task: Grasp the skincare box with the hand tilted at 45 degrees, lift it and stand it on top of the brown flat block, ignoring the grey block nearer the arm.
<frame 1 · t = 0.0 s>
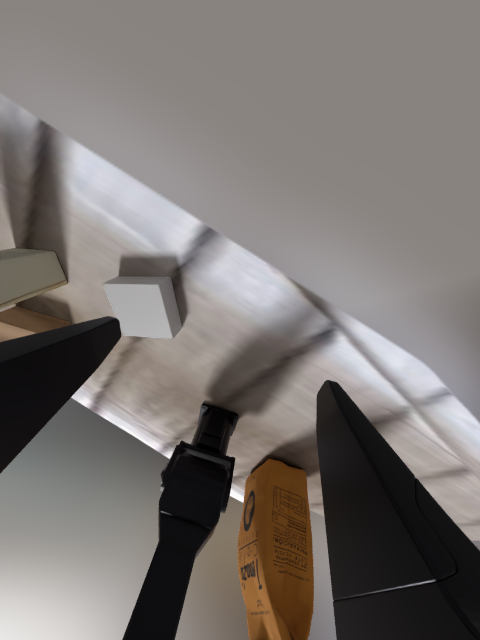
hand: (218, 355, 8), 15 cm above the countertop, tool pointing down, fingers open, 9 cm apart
brown flat block: (53, 335, 34), on the countertop
coffee package: (274, 470, 42), on the countertop
grey block: (153, 301, 26), on the countertop
skincare box: (44, 265, 26), on the countertop
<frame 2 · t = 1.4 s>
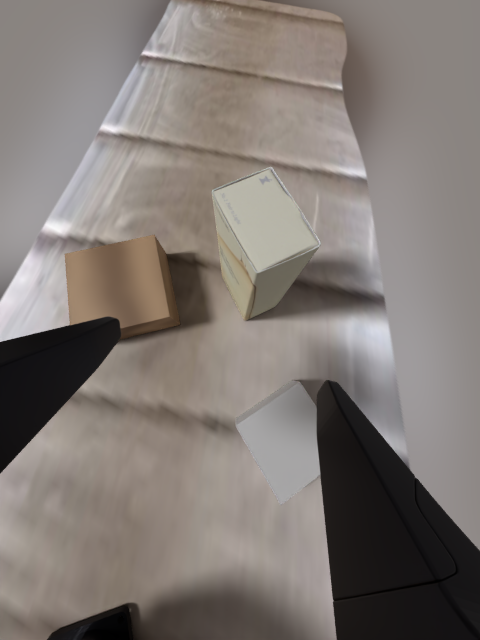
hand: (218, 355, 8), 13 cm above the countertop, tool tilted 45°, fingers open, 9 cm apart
brown flat block: (135, 298, 23), on the countertop
grey block: (283, 429, 20), on the countertop
skincare box: (250, 292, 24), on the countertop
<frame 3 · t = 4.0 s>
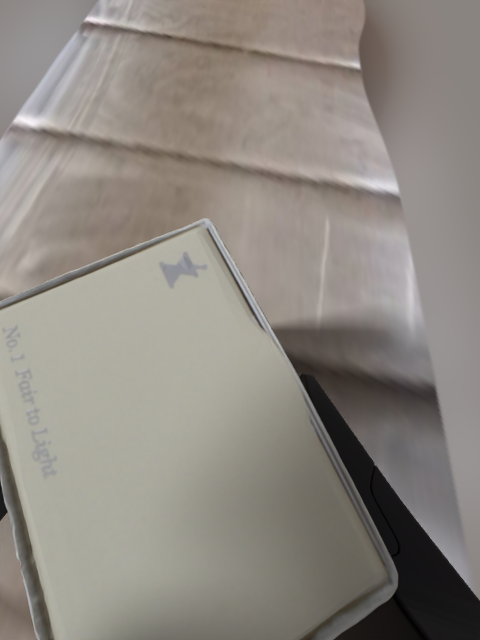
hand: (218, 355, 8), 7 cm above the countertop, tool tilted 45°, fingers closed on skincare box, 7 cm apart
skincare box: (221, 379, 15), on the countertop, touching gripper
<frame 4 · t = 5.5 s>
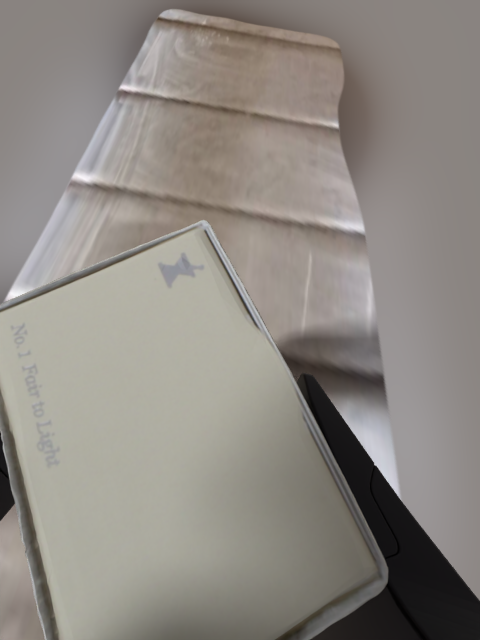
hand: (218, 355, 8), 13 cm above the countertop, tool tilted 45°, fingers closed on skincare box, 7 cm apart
skincare box: (224, 379, 15), point 6 cm above the countertop, touching gripper
when the fingers open (11 cm above the countertop, at t = 7.4 s): skincare box stays where it is, resting on brown flat block.
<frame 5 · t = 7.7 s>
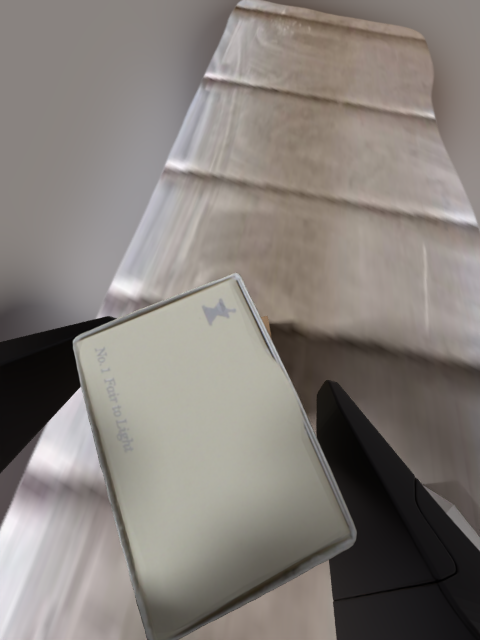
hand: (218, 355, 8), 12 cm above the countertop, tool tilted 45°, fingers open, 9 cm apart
grey block: (420, 550, 17), on the countertop
skincare box: (229, 381, 16), point 3 cm above the countertop, touching brown flat block
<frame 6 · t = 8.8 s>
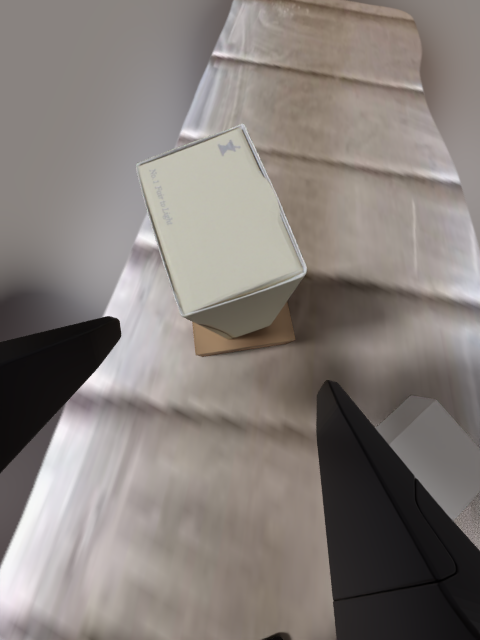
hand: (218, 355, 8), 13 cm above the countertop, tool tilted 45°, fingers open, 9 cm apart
brown flat block: (238, 310, 23), on the countertop, touching skincare box
grey block: (410, 446, 20), on the countertop
skincare box: (240, 303, 19), point 4 cm above the countertop, touching brown flat block
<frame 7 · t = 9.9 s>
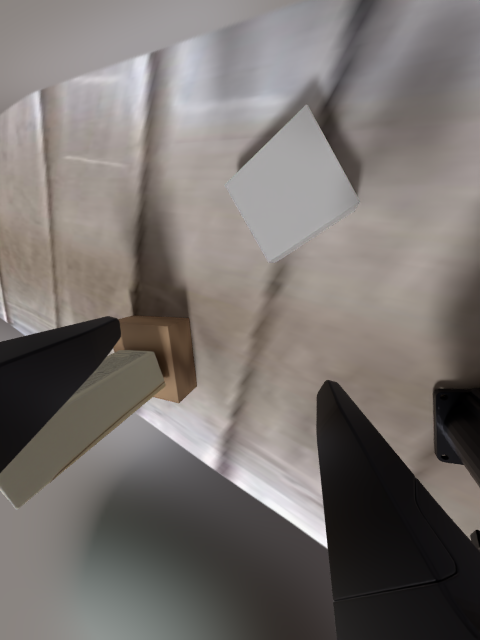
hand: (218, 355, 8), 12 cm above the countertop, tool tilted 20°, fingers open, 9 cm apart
brown flat block: (166, 348, 27), on the countertop, touching skincare box
grey block: (291, 203, 17), on the countertop
skincare box: (144, 365, 23), point 4 cm above the countertop, touching brown flat block
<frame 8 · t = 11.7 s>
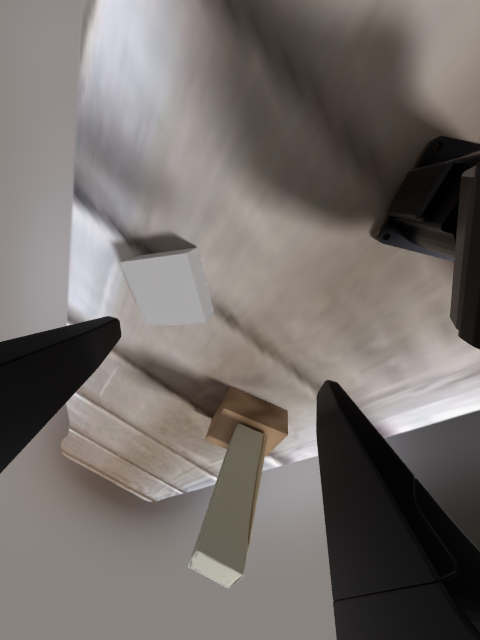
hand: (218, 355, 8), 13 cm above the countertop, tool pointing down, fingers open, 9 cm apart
brown flat block: (247, 412, 32), on the countertop, touching skincare box
grey block: (177, 283, 22), on the countertop
skincare box: (247, 438, 28), point 4 cm above the countertop, touching brown flat block
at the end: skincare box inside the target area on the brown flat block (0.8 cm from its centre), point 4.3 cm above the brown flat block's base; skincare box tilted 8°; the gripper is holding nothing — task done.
